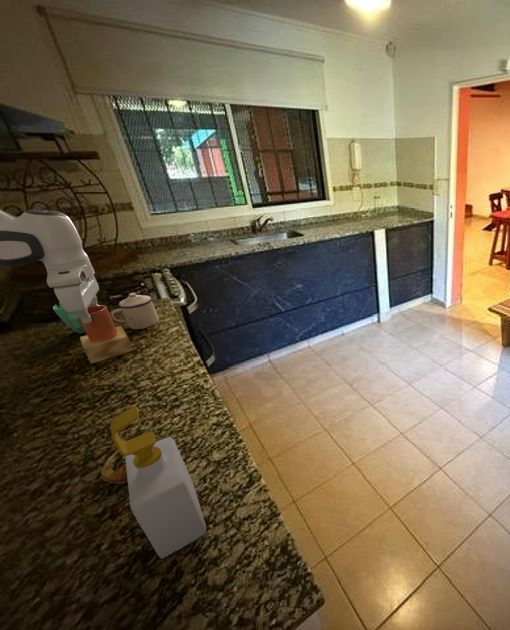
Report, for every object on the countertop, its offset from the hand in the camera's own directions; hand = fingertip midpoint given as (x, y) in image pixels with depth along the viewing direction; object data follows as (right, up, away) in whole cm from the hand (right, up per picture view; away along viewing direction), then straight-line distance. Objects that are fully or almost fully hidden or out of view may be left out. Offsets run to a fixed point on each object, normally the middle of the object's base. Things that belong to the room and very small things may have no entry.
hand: (91, 315), depth 100 cm
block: (0, -11, +6) cm, 12 cm away
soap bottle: (+55, -35, -42) cm, 77 cm away
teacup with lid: (-3, -4, +21) cm, 21 cm away
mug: (-17, -6, +16) cm, 24 cm away
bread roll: (+40, -30, -31) cm, 59 cm away
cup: (0, -6, +4) cm, 7 cm away
